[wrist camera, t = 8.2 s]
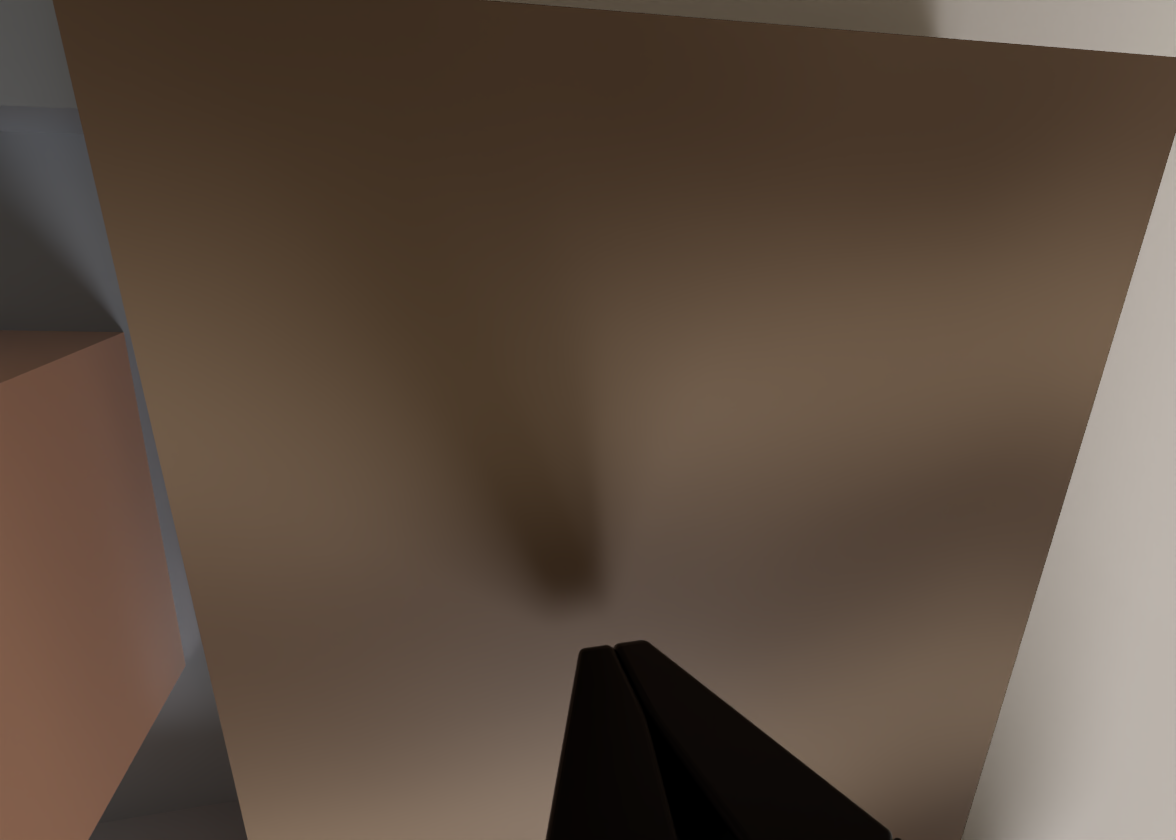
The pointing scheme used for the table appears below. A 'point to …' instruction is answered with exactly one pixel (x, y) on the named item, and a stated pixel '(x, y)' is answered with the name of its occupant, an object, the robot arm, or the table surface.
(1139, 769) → the table surface
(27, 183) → the tray
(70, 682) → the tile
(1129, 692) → the table surface
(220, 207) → the brown flat block
